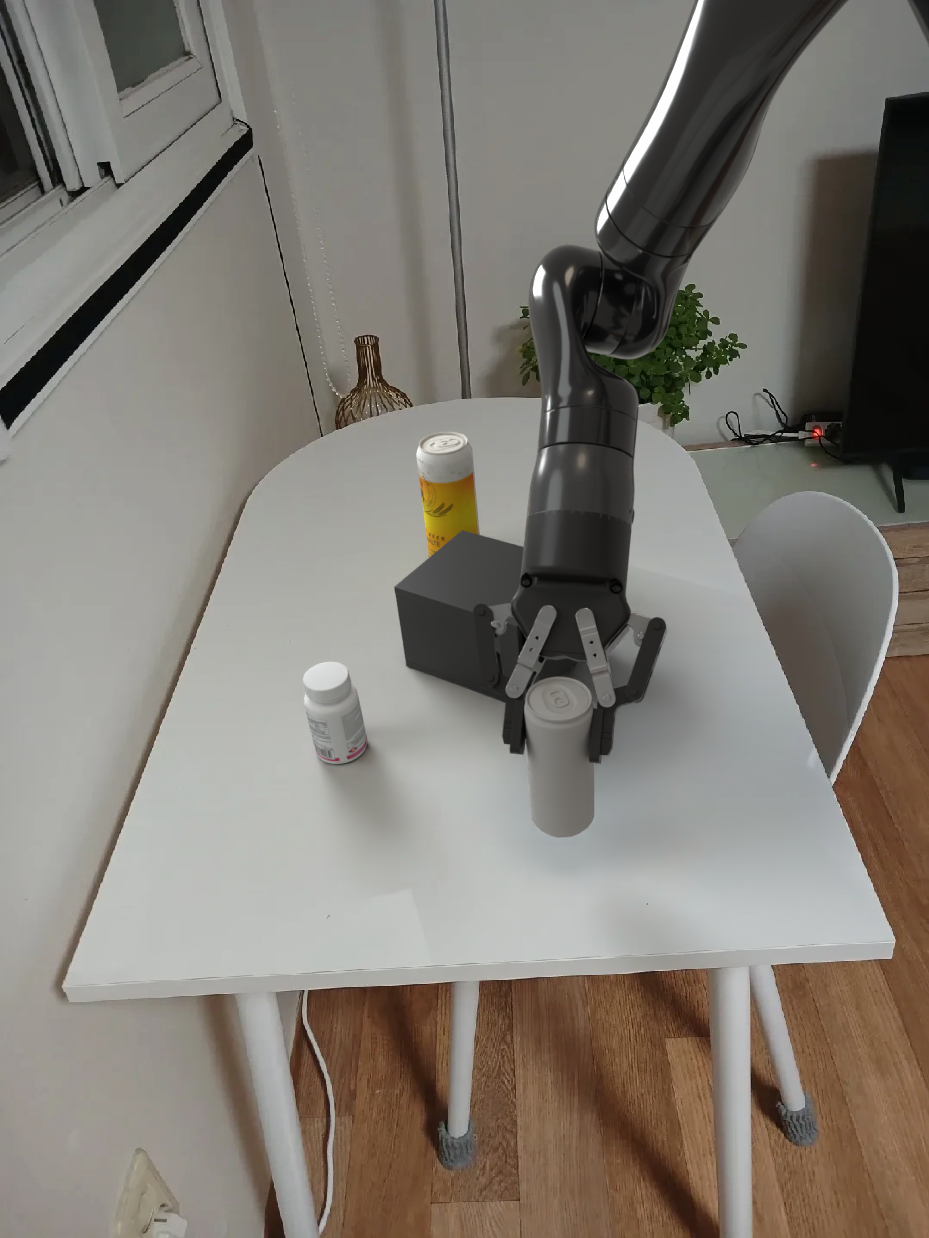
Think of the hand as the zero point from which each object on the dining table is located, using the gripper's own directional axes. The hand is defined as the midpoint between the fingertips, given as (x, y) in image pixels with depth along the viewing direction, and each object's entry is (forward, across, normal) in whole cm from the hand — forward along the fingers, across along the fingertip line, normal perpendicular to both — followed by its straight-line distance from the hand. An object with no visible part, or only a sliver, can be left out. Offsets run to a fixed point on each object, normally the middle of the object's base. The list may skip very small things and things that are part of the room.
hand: (556, 757), depth 66 cm
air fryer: (-10, -11, +27) cm, 31 cm away
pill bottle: (+1, -22, +16) cm, 27 cm away
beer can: (-21, -19, +39) cm, 48 cm away
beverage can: (+5, 0, +7) cm, 9 cm away
